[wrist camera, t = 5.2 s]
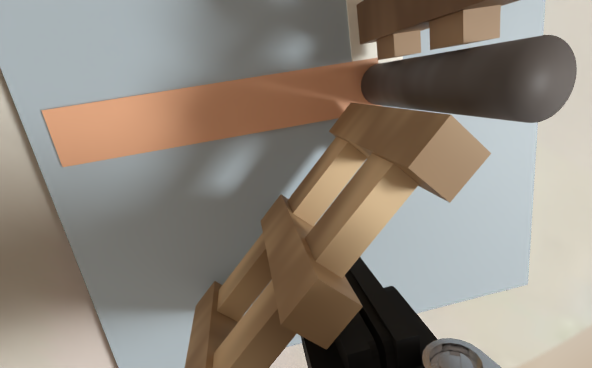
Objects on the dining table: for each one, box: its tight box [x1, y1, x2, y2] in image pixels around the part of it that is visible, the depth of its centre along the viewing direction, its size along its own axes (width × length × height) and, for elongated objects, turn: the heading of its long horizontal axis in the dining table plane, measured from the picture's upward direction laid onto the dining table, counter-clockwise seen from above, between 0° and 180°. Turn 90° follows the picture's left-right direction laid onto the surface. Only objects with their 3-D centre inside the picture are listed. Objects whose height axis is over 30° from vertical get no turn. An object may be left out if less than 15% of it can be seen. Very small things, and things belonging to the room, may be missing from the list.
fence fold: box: [185, 103, 491, 368], centre depth 9 cm, size 9×1×6 cm, turn 142°
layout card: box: [0, 0, 545, 368], centre depth 12 cm, size 20×18×1 cm
